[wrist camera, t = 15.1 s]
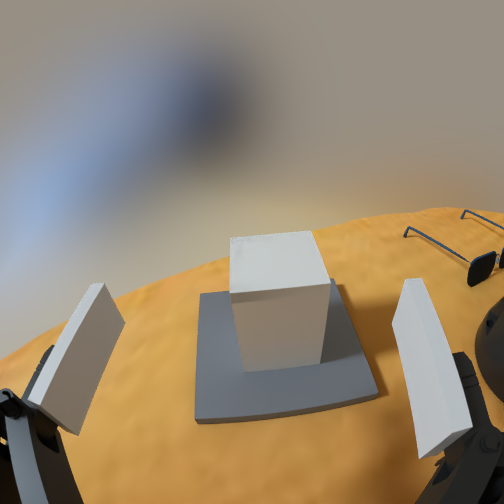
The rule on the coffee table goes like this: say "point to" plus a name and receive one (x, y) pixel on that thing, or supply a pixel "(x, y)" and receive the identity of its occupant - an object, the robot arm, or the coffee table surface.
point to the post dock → (275, 370)
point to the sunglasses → (479, 265)
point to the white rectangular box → (278, 300)
